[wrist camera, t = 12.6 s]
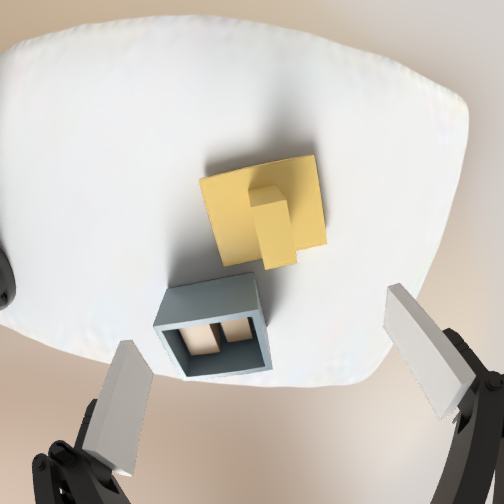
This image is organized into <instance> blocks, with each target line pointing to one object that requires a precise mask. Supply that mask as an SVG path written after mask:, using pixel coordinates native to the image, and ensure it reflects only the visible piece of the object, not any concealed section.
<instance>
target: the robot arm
mask: <svg viewBox="0 0 504 504" xmlns="http://www.w3.org/2000/svg"><path fill="white" fill-rule="evenodd" d="M14 297H15V281H14V277H13V273H12V270H11V268H10V265H9V263H8V261H7V259H6V257H5V255H4V253H3V252H2V250H1V249H0V311H1V310H3V309H5V308H6V307H7V306H8V305H9V304H10V303H11V302H12V301H13V300H14ZM383 328H384V329H385V331H386V332H387V334H388V335H389V337H390V339H391V340H392V342H393V343H394V345H395V346H396V348H397V349H398V351H399V353H400V354H401V356H402V358H403V359H404V361H405V362H406V364H407V366H408V367H409V369H410V371H411V372H412V374H413V376H414V377H415V379H416V381H417V382H418V384H419V386H420V388H421V389H422V391H423V393H424V394H425V396H426V398H427V400H428V402H429V404H430V405H431V407H432V409H433V411H434V412H435V414H436V416H437V418H438V420H439V421H440V420H442V419H443V418H445V417H447V416H449V415H450V414H452V413H453V412H454V410H455V409H456V407H457V406H458V408H459V410H460V411H459V413H458V414H457V416H456V417H455V418H454V420H453V422H452V423H455V422H456V421H457V423H456V428H455V432H454V436H453V440H452V444H451V448H450V451H449V454H448V457H447V461H446V464H445V467H444V470H443V473H442V476H441V479H440V481H439V484H438V486H437V489H436V491H435V494H434V496H433V499H432V501H431V503H430V504H485V502H486V499H487V495H488V492H489V489H490V486H491V482H492V478H493V474H494V470H495V485H494V495H493V504H504V374H502V375H501V374H499V373H498V372H495V371H488V370H487V369H486V368H485V366H484V365H483V364H482V362H481V361H480V360H479V358H478V357H477V356H476V355H475V353H474V352H473V351H472V350H471V349H470V348H469V346H468V345H467V343H466V342H464V340H463V339H462V337H461V336H460V335H459V334H458V333H457V332H455V331H454V330H452V329H450V328H447V329H445V330H443V331H441V329H440V328H439V327H438V326H437V325H436V324H435V322H434V321H433V320H432V319H431V317H429V315H428V314H427V313H426V312H425V311H424V309H423V308H422V307H421V306H420V305H419V304H418V302H417V301H416V300H415V299H414V298H413V297H412V296H411V295H410V294H409V292H408V291H407V290H406V289H405V288H404V287H403V286H402V285H401V284H400V283H398V284H395V285H391V286H388V287H387V296H386V307H385V316H384V324H383ZM153 375H154V373H153V372H152V370H151V369H150V367H149V366H148V364H147V363H146V361H145V360H144V358H143V356H142V355H141V353H140V352H139V350H138V348H137V347H136V345H135V344H134V342H133V340H125V341H120V343H119V346H118V348H117V350H116V353H115V355H114V358H113V360H112V363H111V365H110V368H109V370H108V373H107V376H106V378H105V381H104V383H103V386H102V389H101V392H100V394H99V397H98V399H93V400H92V401H91V403H90V404H89V405H88V407H87V409H86V412H85V417H84V418H83V421H82V424H81V427H80V430H79V433H78V436H77V439H76V442H75V446H74V448H72V447H71V446H70V445H69V444H67V443H66V442H64V441H62V440H58V441H55V442H54V443H53V444H52V445H51V447H50V448H49V452H48V456H46V455H45V454H43V453H40V454H38V455H36V456H35V457H34V459H33V462H32V473H33V485H34V494H35V501H36V504H131V503H130V502H129V500H128V498H127V497H126V496H125V494H124V492H123V491H122V489H121V487H120V486H119V484H118V482H117V480H116V479H115V477H114V476H113V475H112V474H111V473H112V470H113V471H115V472H117V473H118V474H120V475H126V476H133V475H134V469H135V462H136V457H137V451H138V445H139V440H140V435H141V430H142V425H143V420H144V415H145V410H146V406H147V401H148V396H149V392H150V388H151V384H152V379H153ZM59 488H60V489H62V494H61V493H60V489H59Z"/></svg>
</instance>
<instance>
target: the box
mask: <svg viewBox="0 0 504 504" xmlns="http://www.w3.org/2000/svg"><path fill="white" fill-rule="evenodd" d="M153 328H154V330H155V332H156V334H157V336H158V338H159V339H160V341H161V343H162V345H163V347H164V349H165V350H166V352H167V354H168V356H169V358H170V359H171V361H172V363H173V365H174V366H175V368H176V370H177V371H178V373H179V375H180V377H181V378H182V380H183V381H191V380H202V379H211V378H219V377H227V376H235V375H242V374H248V373H254V372H260V371H266V370H271V369H273V368H272V361H271V354H270V347H269V341H268V334H267V328H266V324H265V319H264V315H263V310H262V306H261V302H260V297H259V293H258V289H257V284H256V280H255V275H254V272H251V273H246V274H241V275H236V276H231V277H226V278H221V279H216V280H210V281H205V282H200V283H195V284H189V285H184V286H179V287H173V288H168V289H167V290H166V292H165V295H164V297H163V300H162V303H161V305H160V308H159V311H158V313H157V316H156V319H155V321H154V324H153Z"/></svg>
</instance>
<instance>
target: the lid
mask: <svg viewBox="0 0 504 504" xmlns="http://www.w3.org/2000/svg"><path fill="white" fill-rule="evenodd" d="M199 183H200V187H201V191H202V194H203V198H204V201H205V205H206V208H207V212H208V215H209V219H210V222H211V226H212V229H213V233H214V236H215V239H216V243H217V246H218V250H219V253H220V256H221V260H222V263H223V266H224V267H226V266H231V265H235V264H240V263H244V262H249V261H253V260H258V259H262V258H263V262H264V267H265V270H268V269H272V268H277V267H281V266H286V265H290V264H294V263H297V257H296V251H298V250H302V249H307V248H311V247H316V246H320V245H324V244H327V239H326V230H325V222H324V215H323V207H322V200H321V193H320V187H319V180H318V174H317V168H316V162H315V157H314V155H312V154H311V155H305V156H299V157H294V158H288V159H283V160H278V161H273V162H268V163H264V164H259V165H254V166H250V167H245V168H241V169H237V170H233V171H228V172H224V173H220V174H216V175H212V176H208V177H205V178H201V179H200V180H199Z"/></svg>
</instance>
